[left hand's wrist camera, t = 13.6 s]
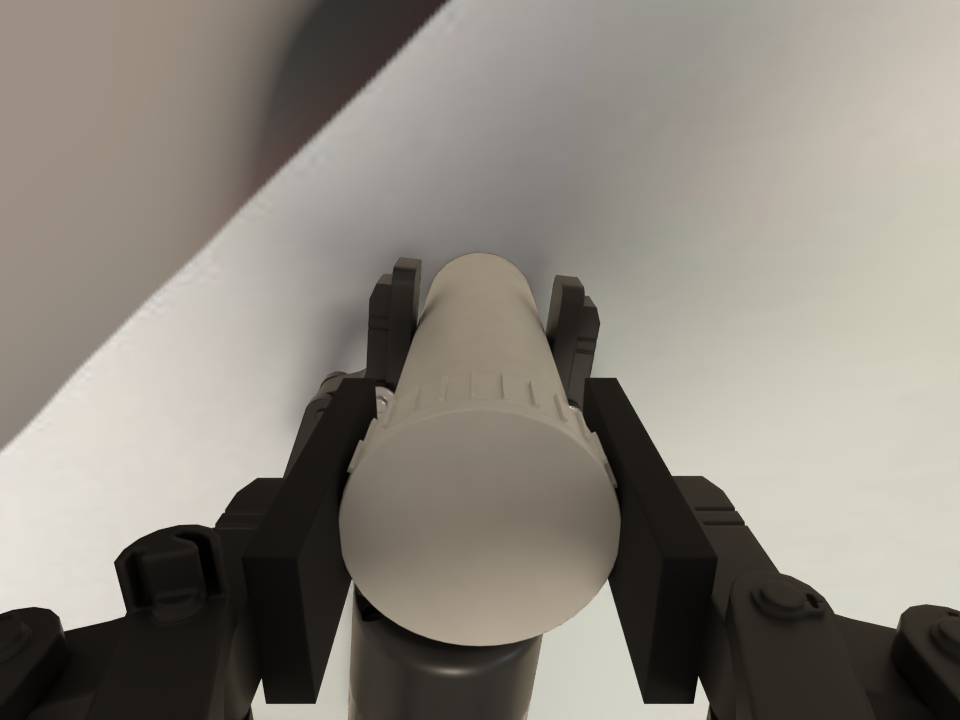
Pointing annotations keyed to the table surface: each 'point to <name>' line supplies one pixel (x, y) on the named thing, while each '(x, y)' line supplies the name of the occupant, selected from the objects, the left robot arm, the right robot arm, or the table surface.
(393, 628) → the right robot arm
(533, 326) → the jar
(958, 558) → the table surface
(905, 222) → the table surface
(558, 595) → the lid
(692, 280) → the table surface
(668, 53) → the table surface
